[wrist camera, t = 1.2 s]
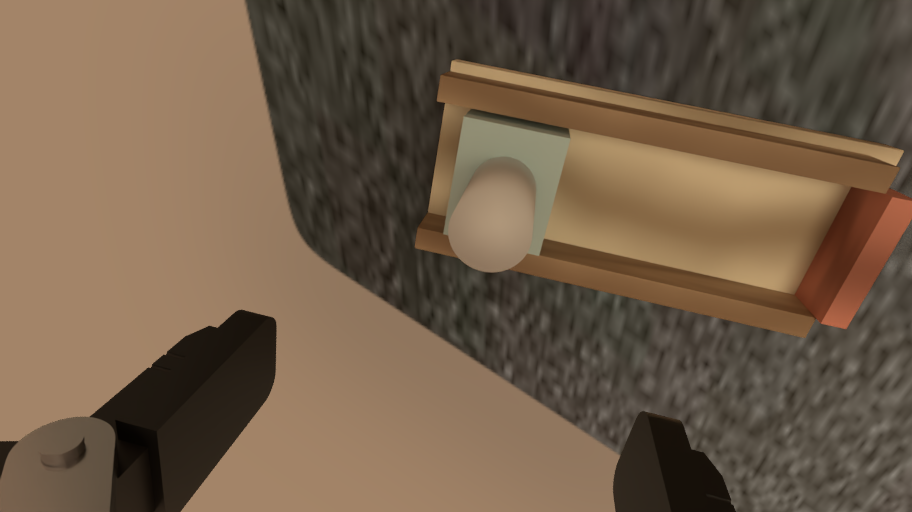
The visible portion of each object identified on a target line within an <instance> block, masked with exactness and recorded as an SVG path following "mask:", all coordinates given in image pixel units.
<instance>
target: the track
mask: <svg viewBox="0 0 912 512" xmlns="http://www.w3.org/2000/svg"><path fill="white" fill-rule="evenodd" d="M437 101H438V102H443V103H445V107H444V113H443V120H442V126H441V132H440V139H439V145H438V151H437V158H436V164H435V170H434V177H433V183H432V189H431V196H430V202H429V208H428V213H427V214H426V216H425V217H424V219H423V220H422V222H421V223H420V225H419V226H418V229H417V235H416V242H415V248H418V249H422V250H426V251H431V252H435V253H439V254H444V255H448V256H452V257H457V258H458V256H457V255H456V254H455V252H454V251H453V249H452V247H451V245H450V241H449V237H448V235H445V234H443V232H444V226H445V220H446V215H447V209H448V203H449V198H450V192H451V186H452V180H453V175H454V169H455V163H456V158H457V152H458V146H459V140H460V135H461V129H462V123H463V118H464V116H465V115H466V114H467V113H468V112H469V111H470V110H471V109H477V110H482V111H486V112H491V113H496V114H501V115H506V116H511V117H516V118H520V119H525V120H530V121H535V122H540V123H545V124H549V125H554V126H559V127H564V128H569V133H570V138H571V139H570V143H569V147H568V150H567V154H566V158H565V161H564V165H563V169H562V173H561V176H560V180H559V184H558V187H557V191H556V195H555V199H554V202H553V206H552V210H551V214H550V217H549V221H548V225H547V228H546V232H545V236H544V240H543V243H542V247H541V251H540V254H539V256H537V255H533V254H528V253H527V254H526V256H525V257H524V258H523V259H522V260H521V261H520V262H519V263H518V264H517V265H515V266H514V267H512V268H510V269H509V270H513V271H517V272H522V273H526V274H530V275H535V276H539V277H543V278H548V279H552V280H556V281H561V282H565V283H569V284H574V285H578V286H582V287H587V288H591V289H595V290H600V291H604V292H608V293H613V294H617V295H621V296H626V297H630V298H634V299H639V300H643V301H647V302H652V303H656V304H660V305H665V306H669V307H673V308H678V309H682V310H686V311H691V312H695V313H699V314H704V315H708V316H712V317H717V318H721V319H725V320H730V321H734V322H738V323H743V324H747V325H751V326H756V327H760V328H764V329H769V330H773V331H777V332H782V333H786V334H790V335H795V336H799V337H803V338H805V337H806V335H807V333H808V332H809V330H810V328H811V326H812V324H813V323H814V321H815V319H817V320H818V321H819V322H820V323H821V324H826V325H830V326H834V327H839V328H843V329H846V328H847V327H848V325H849V323H850V322H851V320H852V318H853V317H854V315H855V313H856V312H857V310H858V308H859V307H860V305H861V303H862V302H863V300H864V298H865V297H866V295H867V293H868V292H869V290H870V288H871V287H872V285H873V283H874V282H875V280H876V278H877V276H878V275H879V273H880V271H881V270H882V268H883V266H884V265H885V263H886V261H887V260H888V258H889V256H890V255H891V253H892V251H893V250H894V248H895V246H896V245H897V243H898V241H899V240H900V238H901V236H902V235H903V233H904V231H905V230H906V228H907V226H908V225H909V223H910V221H911V220H912V198H909V197H907V196H905V195H903V194H901V193H899V192H897V191H894V190H892V189H890V188H889V187H890V185H891V184H892V182H893V180H894V178H895V176H896V175H897V173H898V171H899V169H900V168H899V167H897V166H896V165H897V163H898V161H899V160H900V158H901V156H902V154H903V152H904V151H903V150H900V149H897V148H894V147H892V146H889V145H886V144H881V143H876V142H871V141H866V140H861V139H856V138H851V137H846V136H841V135H835V134H830V133H825V132H820V131H815V130H810V129H805V128H800V127H795V126H790V125H785V124H780V123H775V122H770V121H765V120H760V119H755V118H750V117H745V116H740V115H735V114H730V113H725V112H720V111H715V110H710V109H705V108H700V107H695V106H690V105H685V104H679V103H674V102H669V101H664V100H659V99H654V98H649V97H644V96H639V95H634V94H629V93H624V92H619V91H614V90H609V89H604V88H599V87H594V86H589V85H584V84H579V83H574V82H569V81H564V80H559V79H554V78H549V77H544V76H539V75H534V74H528V73H523V72H518V71H513V70H508V69H503V68H498V67H493V66H488V65H483V64H478V63H473V62H468V61H463V60H458V59H456V60H453V61H452V63H451V69H450V71H449V72H447V73H445V74H442V75H441V76H440V83H439V90H438V96H437Z"/></svg>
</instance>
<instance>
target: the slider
mask: <svg viewBox="0 0 912 512" xmlns="http://www.w3.org/2000/svg"><path fill="white" fill-rule="evenodd" d="M570 139H571V138H570V133H569V128H564V127H559V126H554V125H549V124H545V123H540V122H535V121H530V120H525V119H520V118H516V117H511V116H506V115H501V114H496V113H491V112H486V111H482V110H477V109H471V110H470V111H469V112H468V113H467V114H466V115H465V116H464V118H463V123H462V129H461V135H460V140H459V146H458V152H457V158H456V163H455V169H454V175H453V180H452V186H451V192H450V198H449V203H448V209H447V215H446V220H445V226H444V232H443V234H445V235H448V237H449V241H450V245H451V247H452V249H453V251H454V252H455V254H456V255H457V256H458V258H459V259H460V260H461V261H462V262H464V263H465V264H466V265H468V266H470V267H471V268H474V269H476V270H479V271H483V272H500V271H504V270H508V269H510V268H512V267H514V266H515V265H517V264H518V263H519V262H520V261H521V260H522V259H523V258H524V257H525V256H526V254H527V253H528V254H533V255H537V256H539V254H540V251H541V247H542V243H543V240H544V236H545V232H546V228H547V225H548V221H549V217H550V214H551V210H552V206H553V202H554V199H555V195H556V191H557V187H558V184H559V180H560V176H561V173H562V169H563V165H564V161H565V158H566V154H567V150H568V147H569V143H570Z"/></svg>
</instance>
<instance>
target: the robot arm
mask: <svg viewBox="0 0 912 512" xmlns="http://www.w3.org/2000/svg"><path fill="white" fill-rule="evenodd" d="M275 370H276V321H275V319H274V318H272V317H268V316H265V315H260V314H256V313H253V312H249V311H245V310H238V311H236V312H235V313H234V314H233V315H231V316H230V317H229V318H228V319H227V320H226V321H225V322H224V323H223V324H221V325H220V326H219V327H218V328H216V327H212V326H208V327H206V328H204V329H201V330H199V331H197V332H194V333H192V334H190V335H188V336H185V337H184V338H183V339H182V340H181V341H179V342H178V343H177V344H176V345H175V346H173V347H172V348H171V349H170V350H169V351H167V354H166V355H163V356H161V357H160V358H159V359H158V360H157V361H156V362H154V363H153V364H152V367H151V368H147V369H146V370H145V371H144V372H142V373H141V374H140V375H139V376H138V377H137V378H135V379H134V380H133V381H132V382H131V383H129V384H128V385H127V386H126V387H125V388H123V389H122V390H121V391H120V392H119V393H118V394H116V395H115V396H114V397H113V398H112V399H110V400H109V401H108V402H107V403H106V404H104V405H103V406H102V407H101V408H100V409H98V410H97V411H96V412H95V413H94V414H93V415H91V416H90V417H73V418H67V419H62V420H58V421H55V422H52V423H49V424H47V425H44V426H42V427H40V428H38V429H36V430H34V431H32V432H31V433H29V434H28V435H26V436H25V437H24V438H22V439H21V440H20V441H9V442H8V441H6V442H5V441H2V442H1V441H0V512H181V510H182V509H183V508H184V506H185V505H186V503H187V502H188V501H189V500H190V498H191V497H192V496H193V494H194V493H195V492H196V491H197V489H198V488H199V487H200V486H201V484H202V483H203V482H204V480H205V479H206V478H207V476H208V475H209V474H210V472H211V471H212V470H213V469H214V467H215V466H216V465H217V463H218V462H219V461H220V459H221V458H222V457H223V456H224V454H225V453H226V452H227V450H228V449H229V448H230V446H231V445H232V444H233V443H234V441H235V440H236V439H237V437H238V436H239V435H240V434H241V432H242V431H243V430H244V428H245V427H246V426H247V424H248V423H249V422H250V420H251V419H252V418H253V417H254V415H255V414H256V413H257V411H258V410H259V409H260V407H261V406H262V405H263V403H264V402H265V401H266V399H267V398H268V396H269V394H270V391H271V389H272V386H273V383H274V379H275ZM613 494H614V502H615V510H616V512H736V511H735V509H734V506H733V505H732V504H731V498H730V495H729V493H728V490H727V487H726V485H725V482H724V480H723V477H722V475H721V474H720V473H719V471H718V470H717V469H716V467H715V466H714V465H713V464H712V462H711V461H710V460H709V459H708V457H707V456H706V455H705V454H704V453H703V452H699V451H695V450H692V449H691V447H690V444H689V441H688V438H687V435H686V432H685V429H684V426H683V424H682V422H681V421H680V420H677V419H673V418H669V417H665V416H661V415H657V414H653V413H649V412H645V411H642V412H640V414H639V415H638V416H637V418H636V421H635V423H634V425H633V428H632V430H631V432H630V435H629V437H628V439H627V442H626V444H625V446H624V449H623V451H622V454H621V456H620V459H619V461H618V463H617V466H616V470H615V475H614V483H613Z"/></svg>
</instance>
